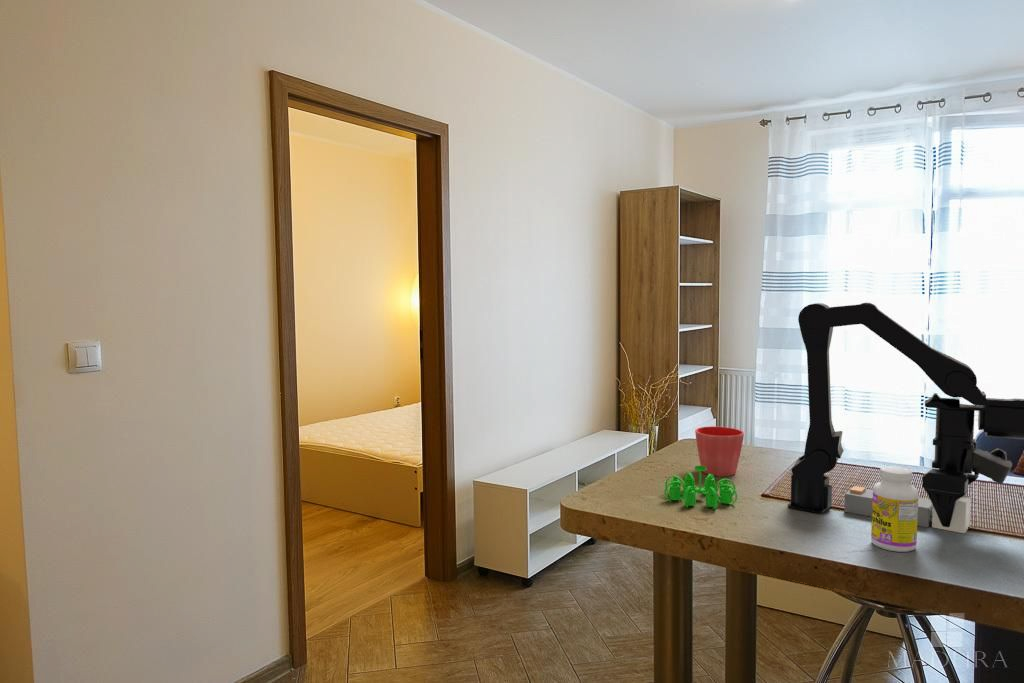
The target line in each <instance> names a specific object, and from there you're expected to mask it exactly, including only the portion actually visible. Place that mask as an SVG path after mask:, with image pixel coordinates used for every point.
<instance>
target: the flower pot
mask: <svg viewBox="0 0 1024 683" xmlns="http://www.w3.org/2000/svg"><path fill="white" fill-rule="evenodd" d="M694 432H695V433H694V434H695V439H696V446H697V448H696V449H697V453H698V459H699V463H700V464H699V466H705V467H706V470H705V471H702V473H704V474H706V473H707V475H709V474H712V475H713V476H715V475H718V476H717V477H728V476H733V475H735V474H736V473H737V469H738V465H739V460H740V456H741V451H742V447H743V444H744V443H743V441H744V437H745V433H744V431H743V430H740V429H737V428H735V427H734V428H733V427H726V426H701V427H697V428H696V429H695V431H694Z"/></svg>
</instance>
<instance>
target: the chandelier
mask: <svg viewBox="0 0 1024 683" xmlns="http://www.w3.org/2000/svg"><path fill="white" fill-rule="evenodd" d="M694 470H695V471H698V472H699V473H698V476H699V478H698V479H699V480H698V481H699V482H698V483H699V486H698V487H697V486H696V481H695V477H694V476H693V474H692V473H691V472H686V473H685V475H684V480H683V479H682V477H680V476H677V475H671V476H669V477H667V479H666V481H665V483H664V487H665V488H664V492H663V493H664V496H665V498H666V500H668V502H672V501H677V500H681V501H682V500H683V503H684V506H685V507H686V508H688V507H689V508H690V507H692V506H695V505H696V501H697V500H696V496H697V494H699V495H700V494H703V495H705V505H706V506H707V507H709V508H711V509H712V510H715V509H717V507H718V502H719V504H721V503H723V504H728V505H729V504H730V505H729V506H733V505H734V504H735V503H736V502H737V500H738V493H737V490H736V484H735V483H734V482H733V481H732V480H731V479H729V478H722V479H719V481H717V482H716V480H715V475H712V474H707V476H706V477H705V478H704V479H705V480H704V487H702V472H703V471H705V470H706V467H705V466H701V465H695V466H694ZM671 478H672V479H671ZM668 481H670V482H669V483H668ZM731 484H732V485H731ZM681 487H682V488H683V490H682V488H681ZM681 490H682V492H681ZM718 490H719V495H718ZM667 493H668V495H669V497H668V496H667ZM734 495H735V498H734V499H735V500H734V501H733V497H734Z"/></svg>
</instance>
